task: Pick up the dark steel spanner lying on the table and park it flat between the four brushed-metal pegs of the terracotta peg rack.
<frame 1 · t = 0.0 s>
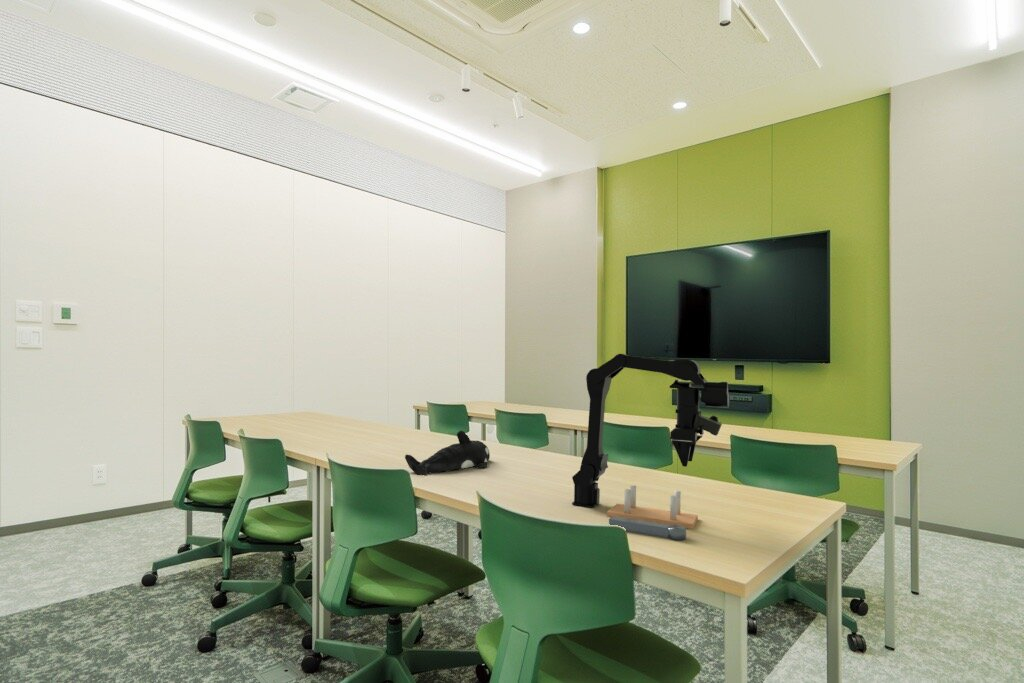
hand: (687, 463, 142), 15 cm above the table, tool pointing down, fingers open, 9 cm apart
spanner: (640, 532, 129), on the table
orca plush: (451, 467, 207), on the table
peg rack: (652, 517, 142), on the table
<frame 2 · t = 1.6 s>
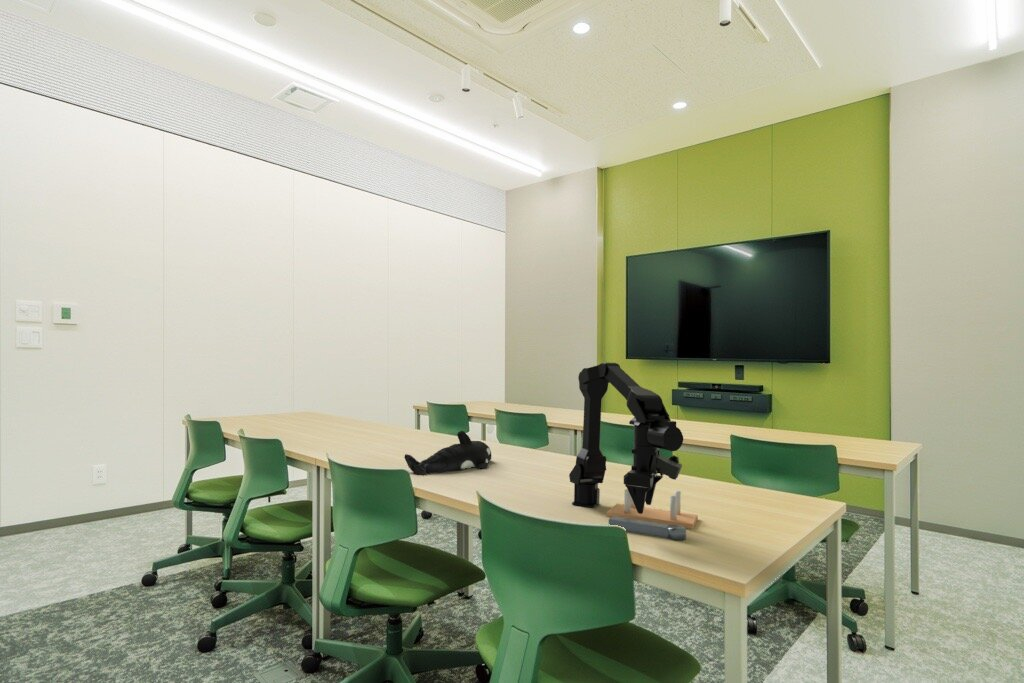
hand: (644, 508, 129), 6 cm above the table, tool pointing down, fingers open, 9 cm apart
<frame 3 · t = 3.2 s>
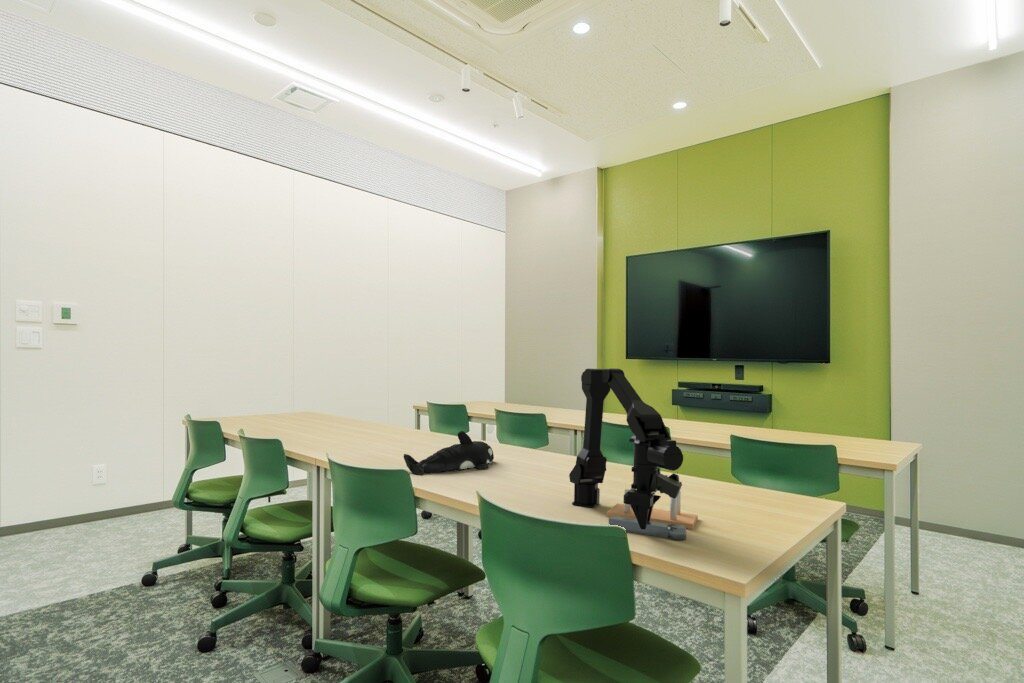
hand: (644, 527, 129), 1 cm above the table, tool pointing down, fingers closed on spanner, 3 cm apart
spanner: (640, 531, 129), on the table, touching gripper
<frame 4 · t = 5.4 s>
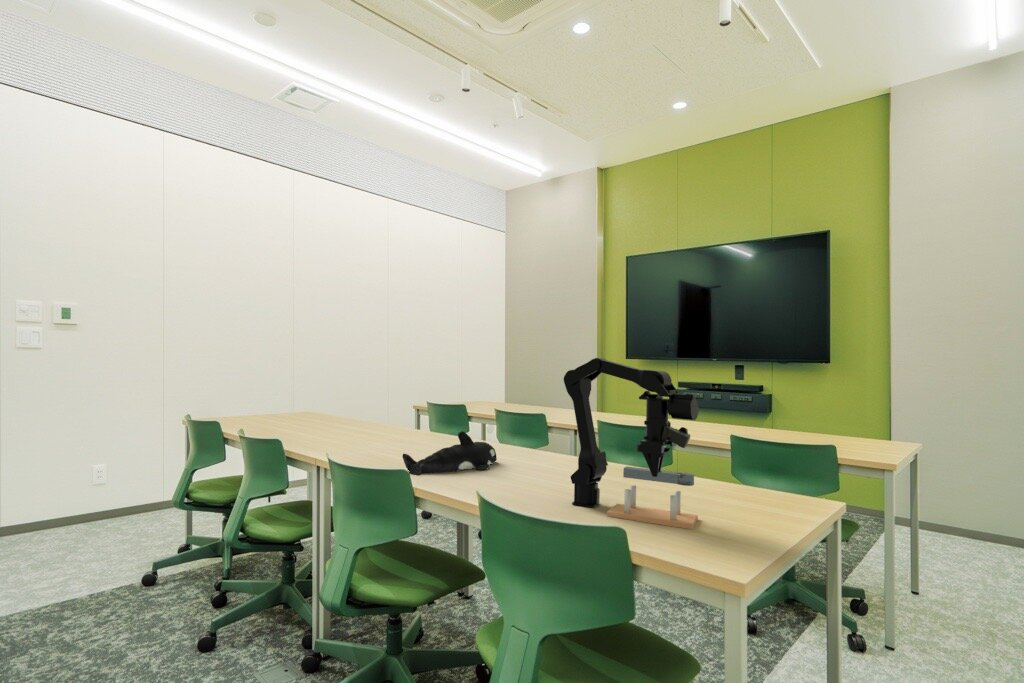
hand: (656, 475, 142), 11 cm above the table, tool pointing down, fingers closed on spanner, 3 cm apart
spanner: (652, 479, 142), point 10 cm above the table, touching gripper
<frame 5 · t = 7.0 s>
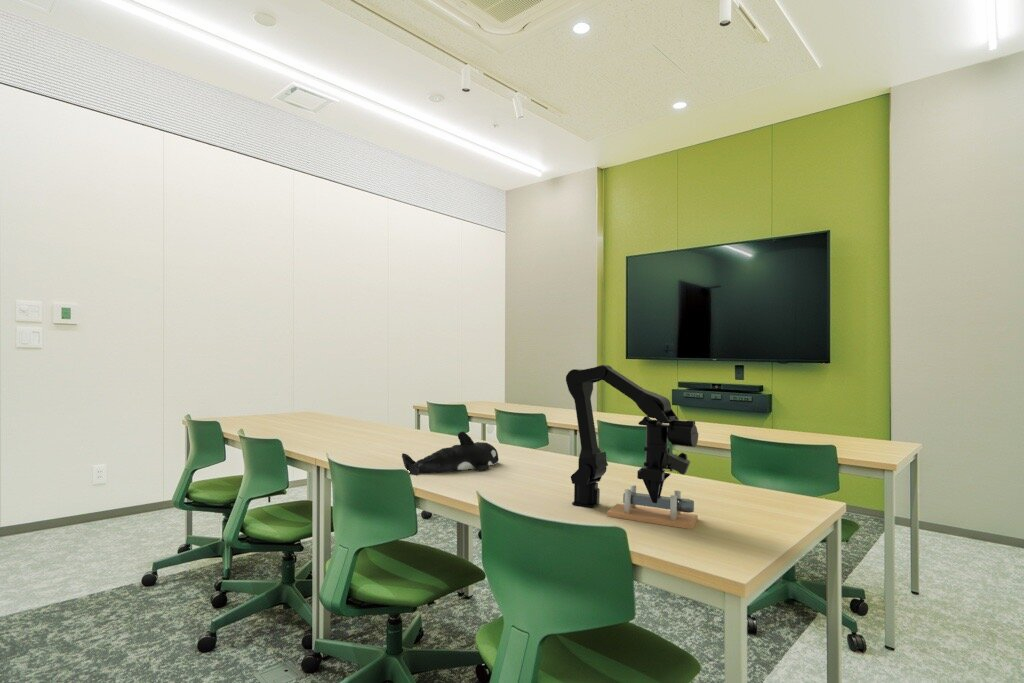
hand: (655, 501, 142), 4 cm above the table, tool pointing down, fingers closed on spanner, 3 cm apart
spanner: (652, 505, 142), point 3 cm above the table, touching gripper
when the fingers open (4 cm above the table, at t = 7.9 s): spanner drops 1 cm, resting on peg rack.
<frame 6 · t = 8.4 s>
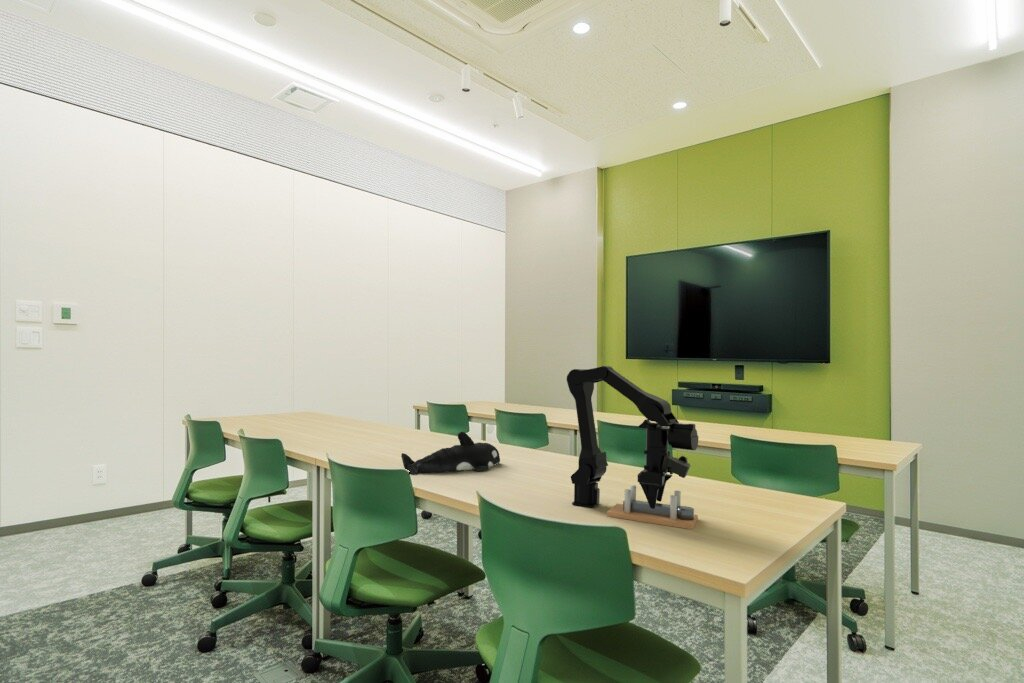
hand: (656, 504, 142), 4 cm above the table, tool pointing down, fingers open, 8 cm apart
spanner: (652, 513, 142), point 1 cm above the table, touching peg rack
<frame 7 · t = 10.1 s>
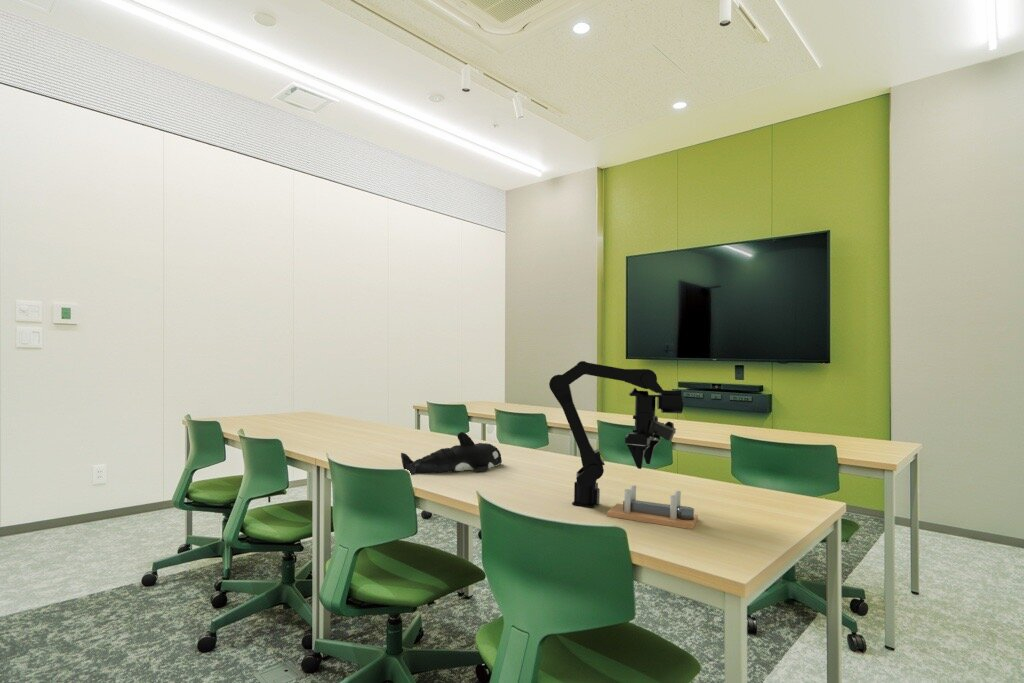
hand: (643, 466, 153), 12 cm above the table, tool pointing down, fingers open, 9 cm apart
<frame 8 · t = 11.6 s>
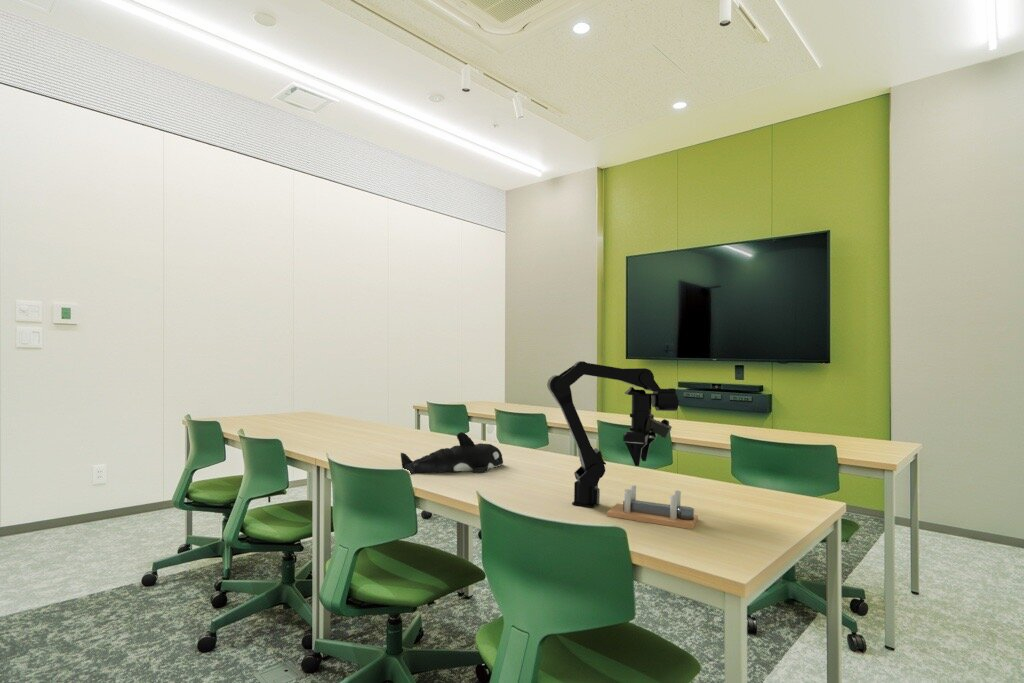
hand: (640, 463, 156), 12 cm above the table, tool pointing down, fingers open, 9 cm apart
at the end: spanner 0.6 cm off-centre on the peg rack, point 1.2 cm above the peg rack's base; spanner tilted 0°; the gripper is holding nothing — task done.
